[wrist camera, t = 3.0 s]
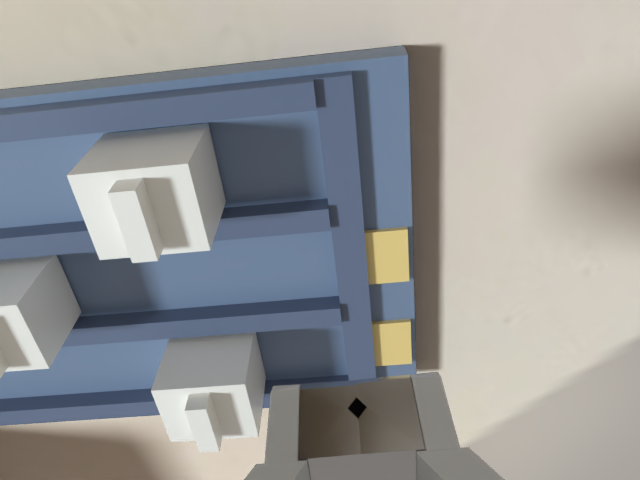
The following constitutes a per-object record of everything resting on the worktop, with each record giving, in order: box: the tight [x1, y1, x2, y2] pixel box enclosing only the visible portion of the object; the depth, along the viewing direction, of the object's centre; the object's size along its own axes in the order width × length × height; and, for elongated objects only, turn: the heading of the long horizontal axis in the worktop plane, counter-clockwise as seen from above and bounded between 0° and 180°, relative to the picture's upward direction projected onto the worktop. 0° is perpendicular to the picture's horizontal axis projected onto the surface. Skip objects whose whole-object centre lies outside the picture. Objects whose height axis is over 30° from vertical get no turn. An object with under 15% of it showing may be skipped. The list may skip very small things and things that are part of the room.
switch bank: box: [0, 45, 416, 425], centre depth 23 cm, size 24×15×2 cm, turn 96°
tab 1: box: [0, 255, 81, 379], centre depth 21 cm, size 4×3×4 cm
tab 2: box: [67, 123, 226, 263], centre depth 18 cm, size 4×3×4 cm
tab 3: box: [151, 332, 266, 452], centre depth 23 cm, size 4×3×4 cm
